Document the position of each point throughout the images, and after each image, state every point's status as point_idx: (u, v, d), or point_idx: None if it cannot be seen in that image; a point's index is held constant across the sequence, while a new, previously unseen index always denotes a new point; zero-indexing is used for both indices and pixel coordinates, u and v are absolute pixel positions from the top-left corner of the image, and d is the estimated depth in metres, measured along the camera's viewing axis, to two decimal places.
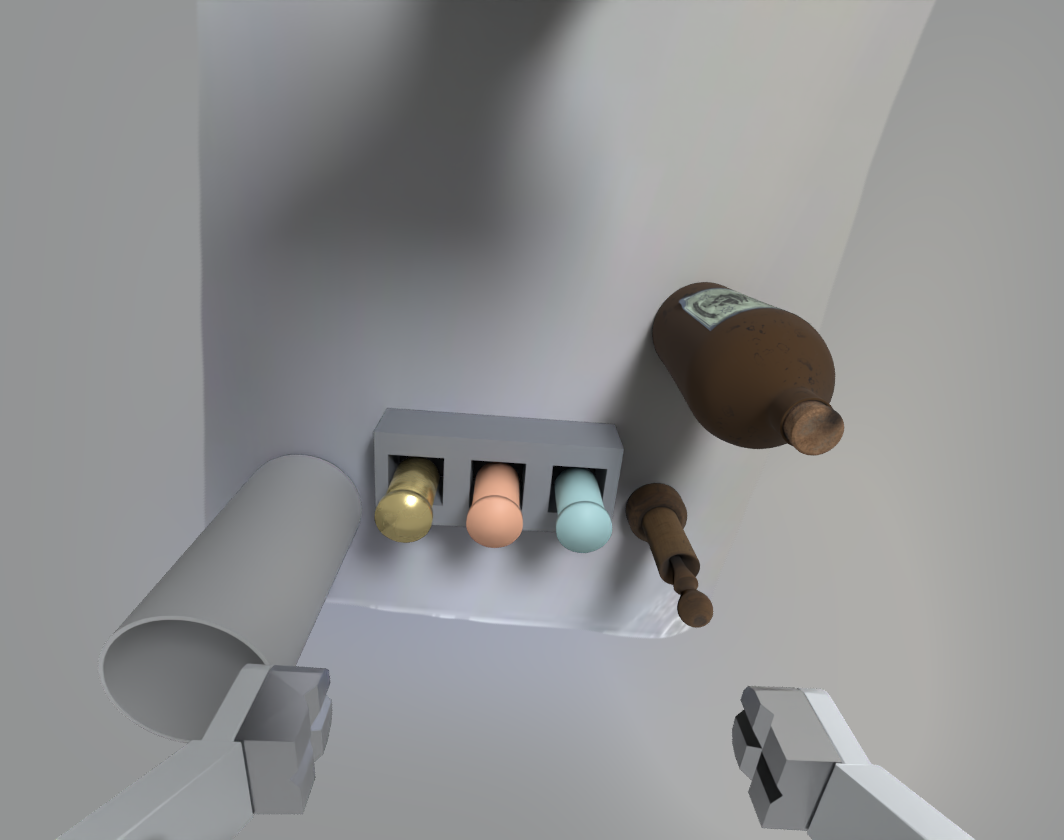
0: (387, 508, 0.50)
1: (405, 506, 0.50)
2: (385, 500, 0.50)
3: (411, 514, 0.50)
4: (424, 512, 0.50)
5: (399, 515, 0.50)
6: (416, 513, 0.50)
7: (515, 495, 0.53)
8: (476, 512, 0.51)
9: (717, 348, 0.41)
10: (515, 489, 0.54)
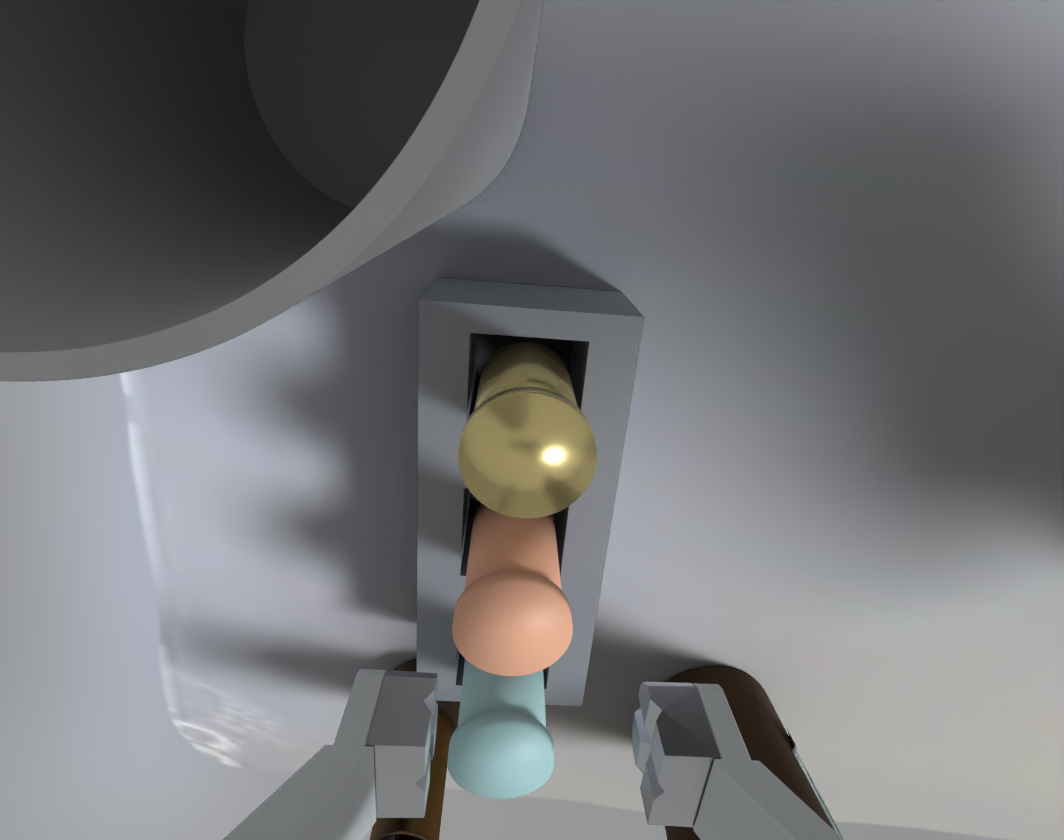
0: (557, 426, 0.20)
1: (561, 466, 0.21)
2: (580, 423, 0.20)
3: (540, 477, 0.21)
4: (544, 503, 0.22)
5: (536, 450, 0.21)
6: (542, 487, 0.21)
7: None
8: (543, 600, 0.23)
9: None
10: None
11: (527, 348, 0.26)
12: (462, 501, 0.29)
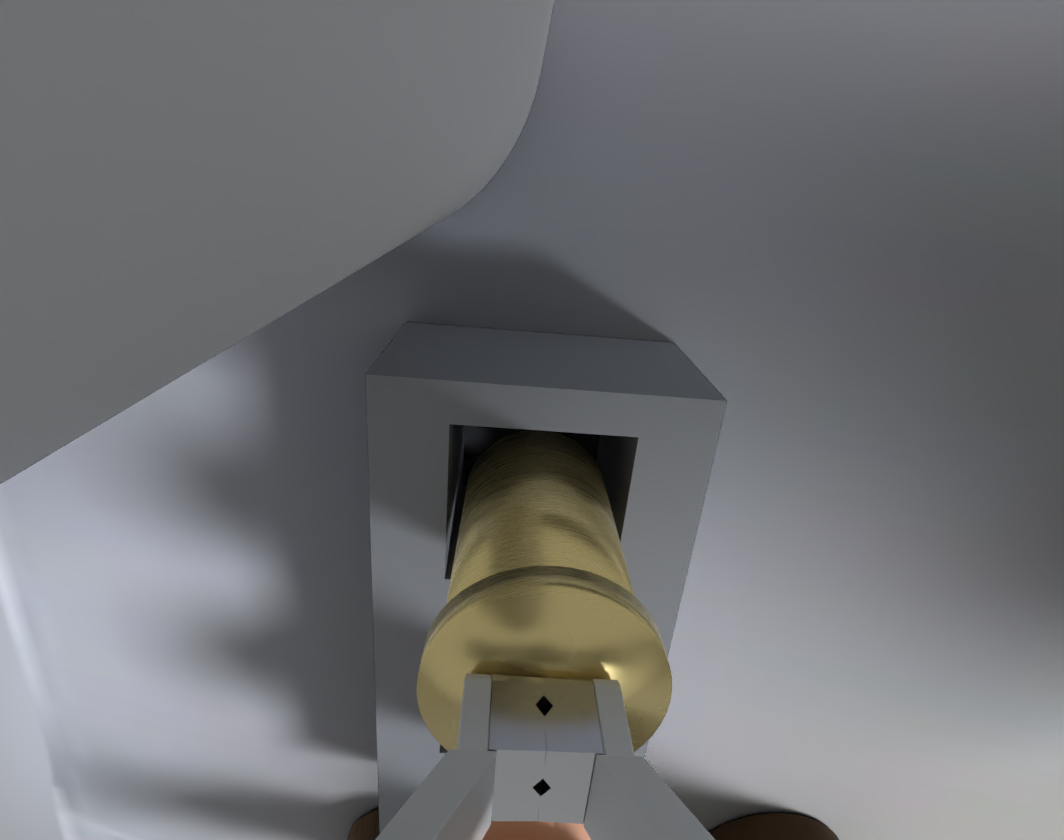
0: (601, 644, 0.11)
1: None
2: (645, 640, 0.11)
3: None
4: None
5: None
6: None
7: None
8: None
9: None
10: None
11: (540, 445, 0.17)
12: None
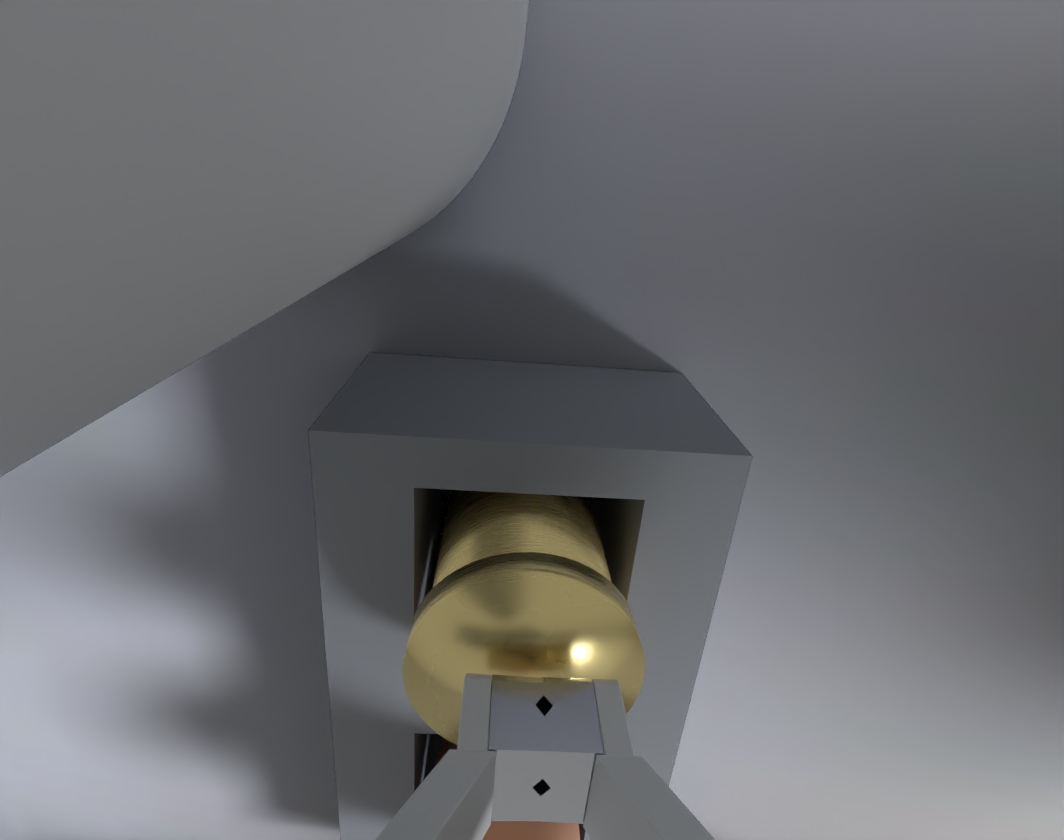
0: (577, 625, 0.11)
1: None
2: (618, 621, 0.11)
3: None
4: None
5: (540, 662, 0.12)
6: None
7: None
8: None
9: None
10: None
11: None
12: (413, 750, 0.17)
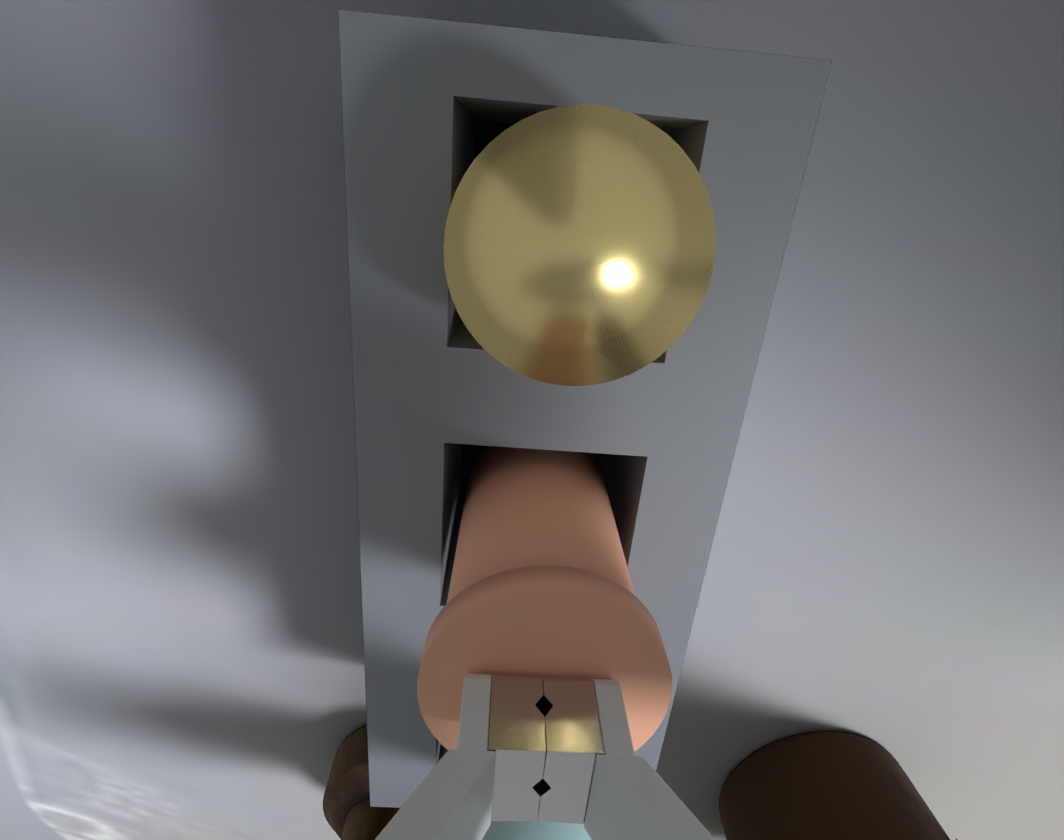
0: (642, 182, 0.10)
1: (645, 275, 0.11)
2: (689, 177, 0.10)
3: (602, 300, 0.11)
4: (608, 354, 0.11)
5: (597, 239, 0.10)
6: (605, 321, 0.11)
7: None
8: (612, 632, 0.11)
9: None
10: None
11: None
12: (442, 468, 0.16)
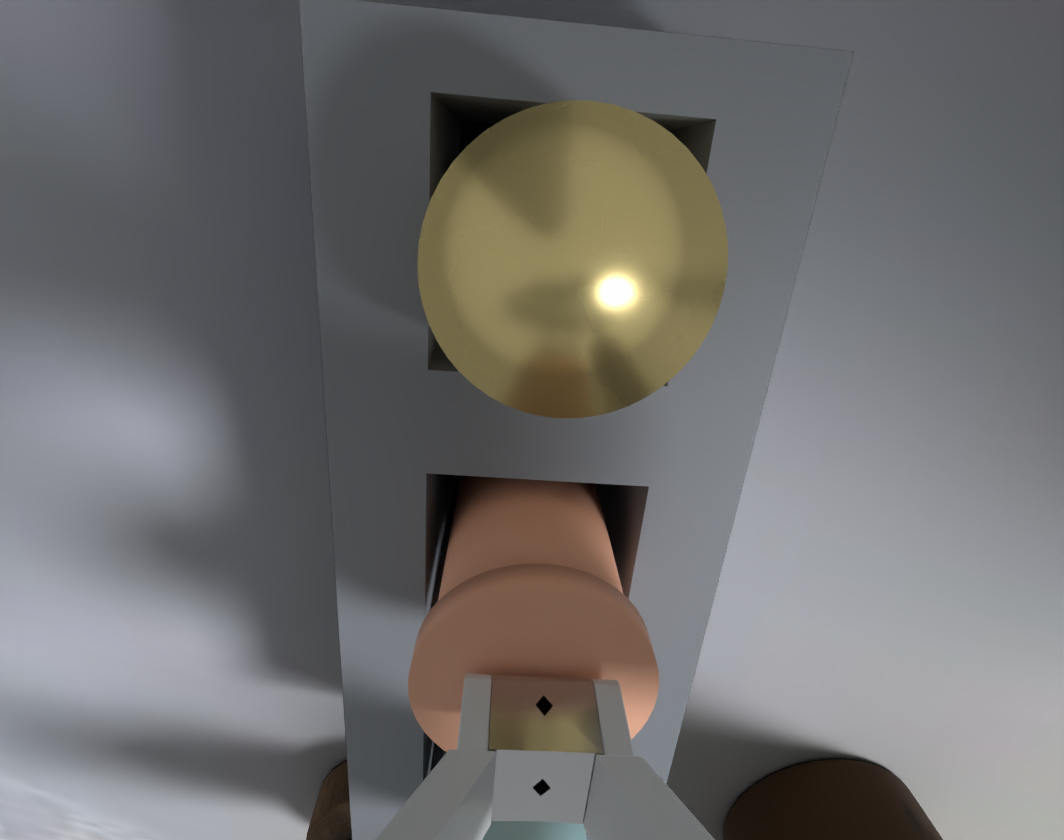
0: (644, 190, 0.09)
1: (647, 294, 0.09)
2: (697, 183, 0.09)
3: (599, 322, 0.10)
4: (606, 383, 0.10)
5: (593, 254, 0.09)
6: (602, 347, 0.10)
7: None
8: (600, 629, 0.11)
9: None
10: None
11: None
12: (424, 501, 0.14)
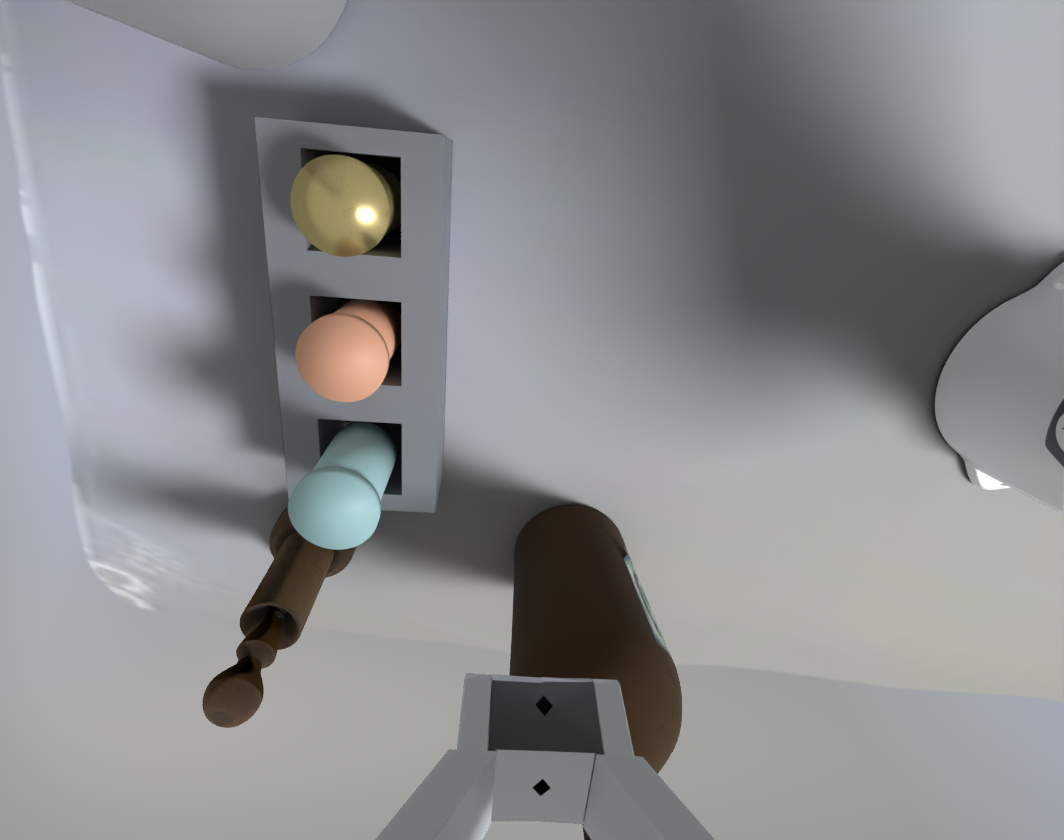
0: (357, 180, 0.30)
1: (364, 213, 0.30)
2: (373, 178, 0.30)
3: (350, 222, 0.30)
4: (356, 244, 0.31)
5: (345, 200, 0.30)
6: (352, 231, 0.31)
7: None
8: (360, 332, 0.32)
9: (653, 670, 0.33)
10: None
11: None
12: (310, 308, 0.35)
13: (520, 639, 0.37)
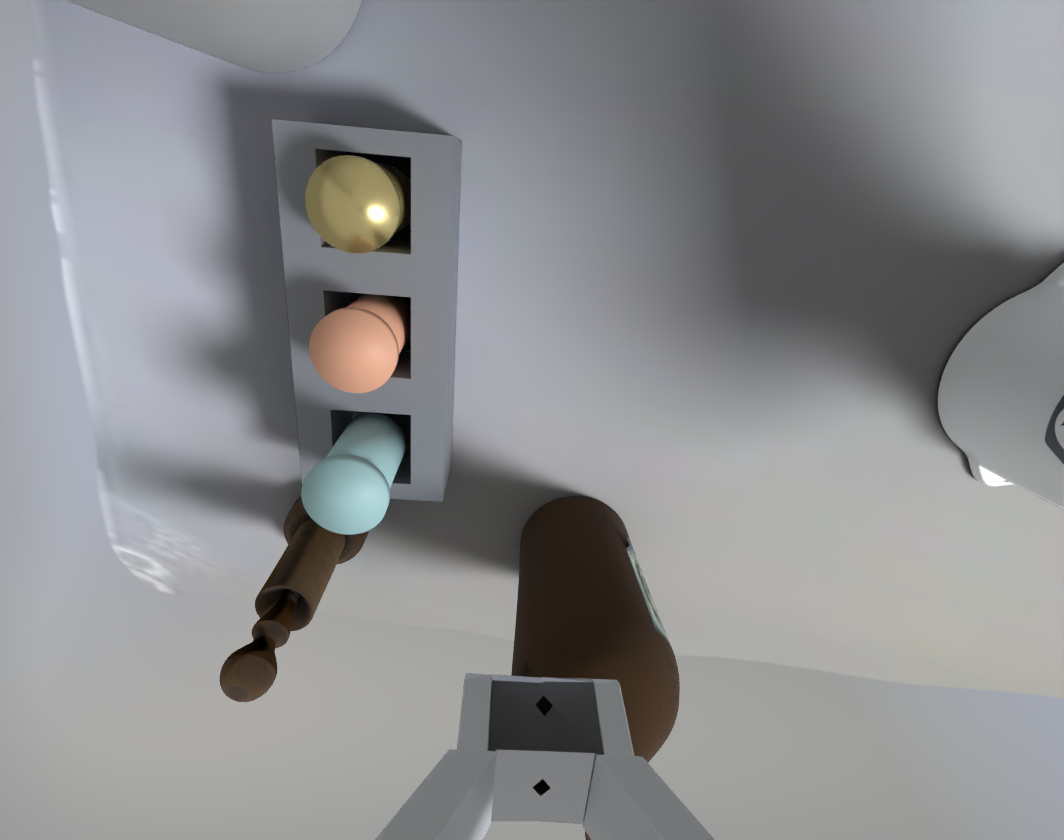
0: (369, 180, 0.31)
1: (375, 211, 0.31)
2: (384, 178, 0.31)
3: (362, 220, 0.32)
4: (367, 241, 0.32)
5: (357, 199, 0.31)
6: (364, 228, 0.32)
7: None
8: (371, 326, 0.33)
9: (651, 655, 0.34)
10: None
11: None
12: (323, 303, 0.36)
13: (523, 625, 0.38)
